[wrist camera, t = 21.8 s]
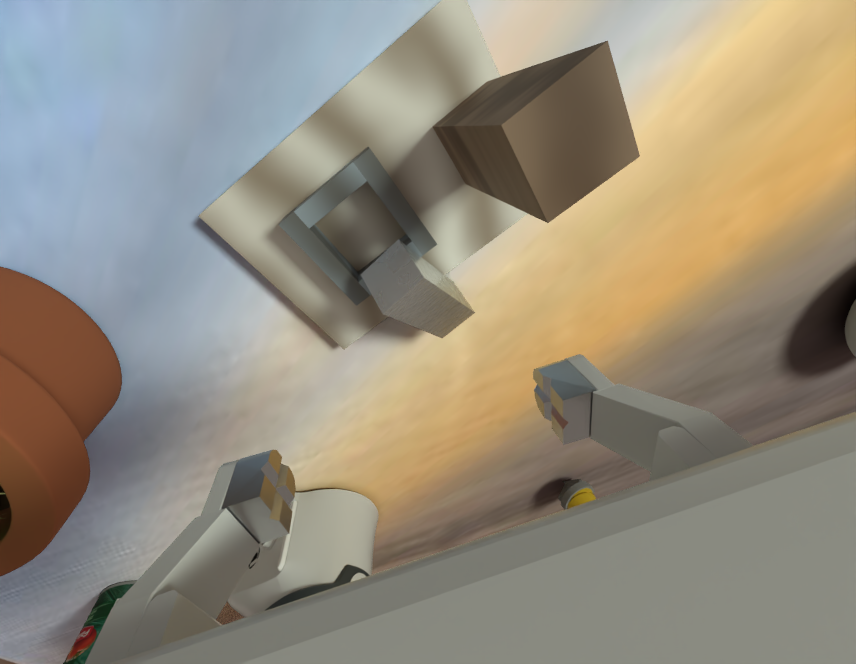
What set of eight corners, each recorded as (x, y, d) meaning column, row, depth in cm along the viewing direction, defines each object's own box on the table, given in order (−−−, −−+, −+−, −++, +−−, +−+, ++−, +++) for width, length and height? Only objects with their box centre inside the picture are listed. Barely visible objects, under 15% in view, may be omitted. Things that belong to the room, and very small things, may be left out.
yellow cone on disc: (544, 483, 54) (594, 540, 46) (571, 462, 55) (625, 515, 46) (553, 499, 57) (602, 556, 49) (579, 479, 58) (631, 532, 49)
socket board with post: (344, 341, 36) (342, 465, 23) (205, 211, 28) (75, 287, 14) (545, 192, 32) (682, 236, 19) (453, -8, 24) (582, -174, 11)
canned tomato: (172, 604, 52) (134, 709, 43) (109, 613, 50) (55, 725, 41) (160, 576, 48) (115, 683, 39) (91, 584, 46) (27, 699, 37)
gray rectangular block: (360, 274, 27) (422, 307, 35) (382, 313, 25) (442, 338, 34) (398, 239, 26) (453, 282, 34) (424, 277, 24) (474, 312, 33)
